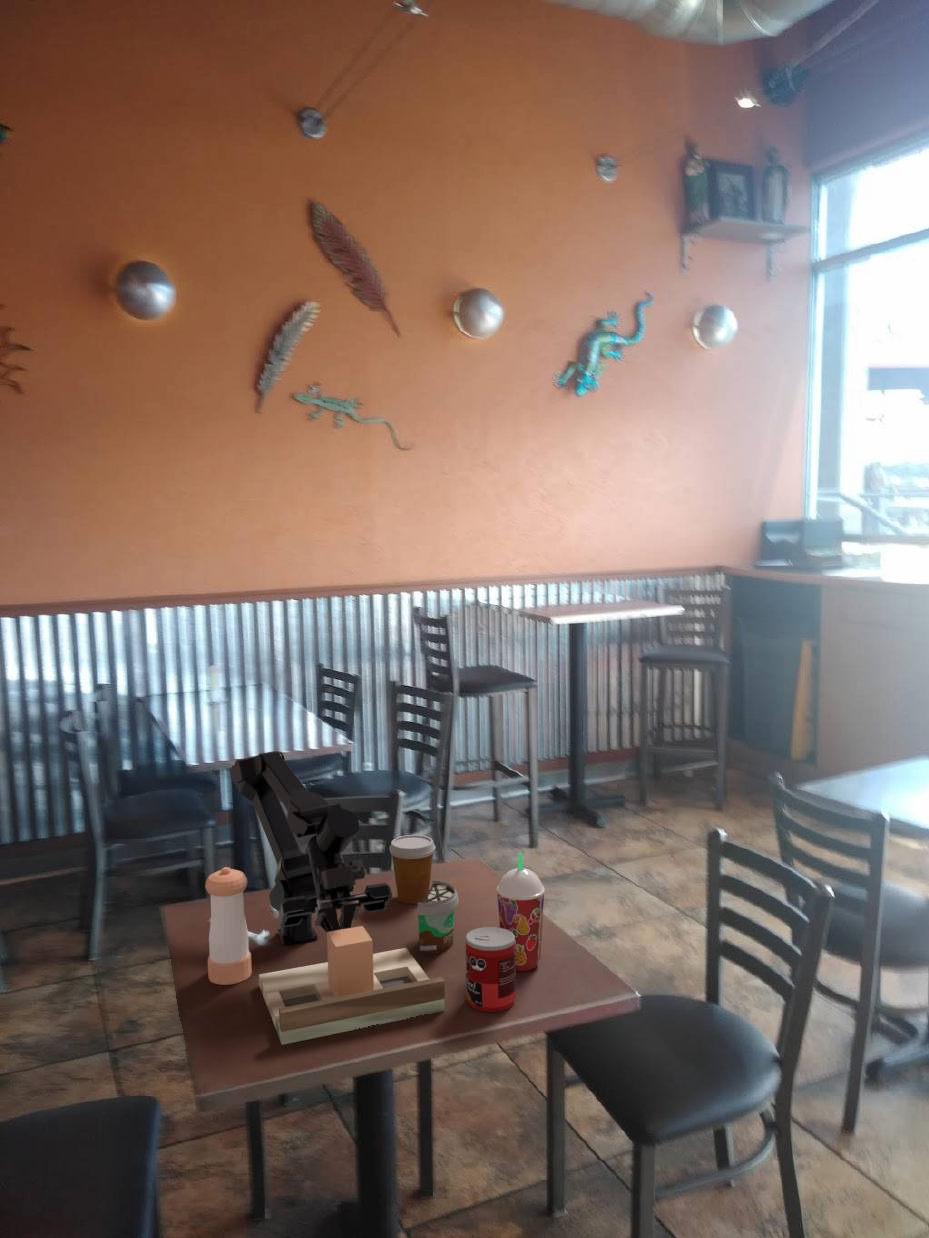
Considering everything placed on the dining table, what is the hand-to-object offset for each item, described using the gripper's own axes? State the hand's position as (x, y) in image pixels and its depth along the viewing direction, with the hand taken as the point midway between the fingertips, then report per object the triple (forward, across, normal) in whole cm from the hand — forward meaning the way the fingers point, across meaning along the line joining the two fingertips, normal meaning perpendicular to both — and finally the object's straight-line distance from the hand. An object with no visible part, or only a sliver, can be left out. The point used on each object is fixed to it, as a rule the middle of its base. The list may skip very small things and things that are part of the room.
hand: (345, 952), depth 161 cm
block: (+6, 0, +1) cm, 6 cm away
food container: (-3, +21, +13) cm, 25 cm away
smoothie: (+7, +31, +4) cm, 32 cm away
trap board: (+6, 0, +3) cm, 7 cm away
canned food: (+14, +21, -4) cm, 25 cm away
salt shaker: (-5, -17, +15) cm, 23 cm away
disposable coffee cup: (-19, +23, +29) cm, 42 cm away
